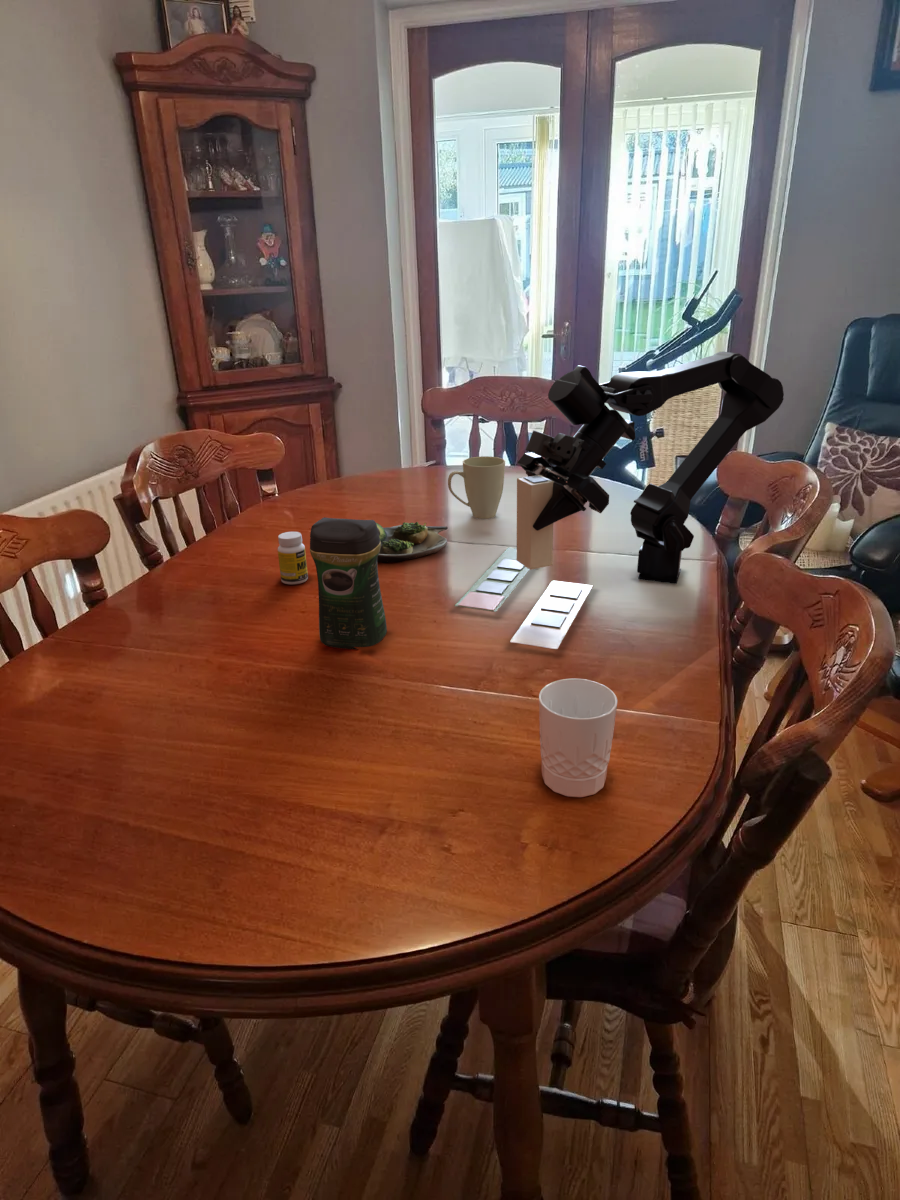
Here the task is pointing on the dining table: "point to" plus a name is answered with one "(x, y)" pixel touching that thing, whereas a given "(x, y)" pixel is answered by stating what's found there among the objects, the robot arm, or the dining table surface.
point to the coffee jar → (348, 582)
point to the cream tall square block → (530, 503)
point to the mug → (482, 484)
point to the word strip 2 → (552, 615)
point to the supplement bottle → (292, 558)
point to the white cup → (576, 735)
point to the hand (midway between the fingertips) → (527, 524)
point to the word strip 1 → (495, 583)
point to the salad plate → (409, 541)
